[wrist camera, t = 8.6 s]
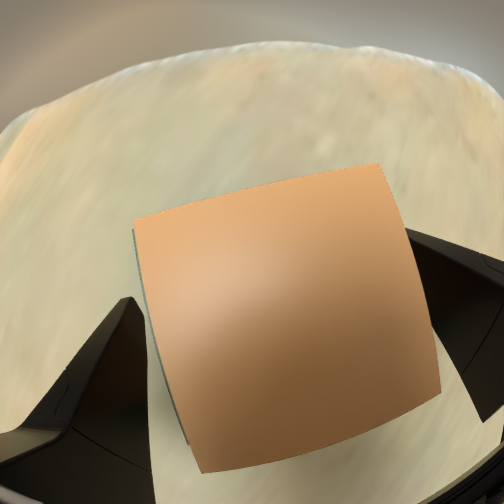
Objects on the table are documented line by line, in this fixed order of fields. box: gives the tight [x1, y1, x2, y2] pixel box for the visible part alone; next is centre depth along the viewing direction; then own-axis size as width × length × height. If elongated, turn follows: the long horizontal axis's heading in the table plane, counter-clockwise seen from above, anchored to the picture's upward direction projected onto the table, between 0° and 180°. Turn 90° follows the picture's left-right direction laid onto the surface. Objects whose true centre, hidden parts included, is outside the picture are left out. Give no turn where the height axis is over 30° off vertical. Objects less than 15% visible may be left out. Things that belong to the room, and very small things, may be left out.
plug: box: [133, 163, 441, 474], centre depth 10 cm, size 5×5×12 cm
